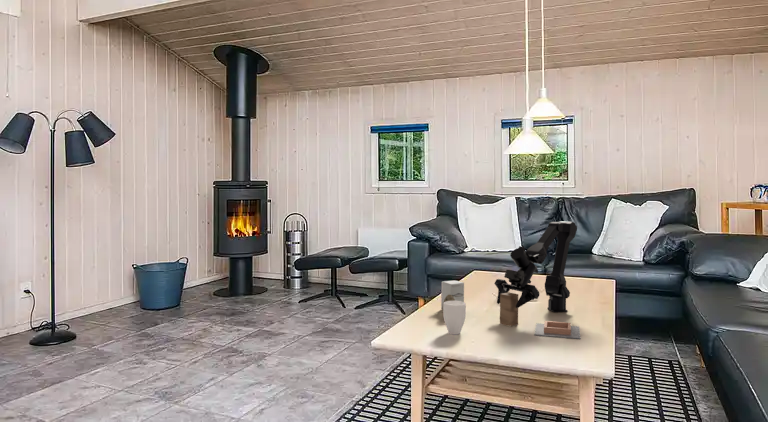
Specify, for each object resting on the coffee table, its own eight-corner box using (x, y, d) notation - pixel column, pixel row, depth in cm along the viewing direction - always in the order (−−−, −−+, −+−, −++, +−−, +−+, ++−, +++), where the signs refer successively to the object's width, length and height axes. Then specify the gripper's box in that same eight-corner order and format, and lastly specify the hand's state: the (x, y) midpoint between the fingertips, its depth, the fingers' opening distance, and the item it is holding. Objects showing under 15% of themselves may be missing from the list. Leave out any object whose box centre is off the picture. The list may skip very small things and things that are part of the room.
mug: (463, 337, 197) (463, 306, 197) (440, 335, 200) (440, 304, 199) (469, 328, 208) (469, 299, 208) (448, 326, 211) (448, 297, 211)
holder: (536, 324, 214) (536, 318, 214) (579, 327, 209) (579, 321, 209) (534, 335, 199) (534, 328, 199) (580, 339, 194) (580, 332, 194)
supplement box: (450, 313, 232) (450, 284, 231) (440, 309, 239) (440, 281, 238) (464, 311, 235) (464, 282, 235) (454, 307, 242) (454, 279, 241)
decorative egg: (456, 316, 226) (456, 293, 226) (457, 320, 220) (457, 296, 220) (441, 316, 227) (441, 292, 226) (442, 320, 221) (442, 296, 220)
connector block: (507, 321, 218) (508, 292, 218) (518, 324, 214) (518, 294, 214) (499, 323, 215) (500, 293, 214) (510, 326, 211) (510, 296, 211)
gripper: (497, 259, 223) (479, 289, 217) (535, 265, 208) (517, 297, 202) (509, 276, 228) (492, 305, 222) (547, 282, 214) (529, 314, 208)
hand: (506, 305), depth 213 cm, fingers open, 9 cm apart
